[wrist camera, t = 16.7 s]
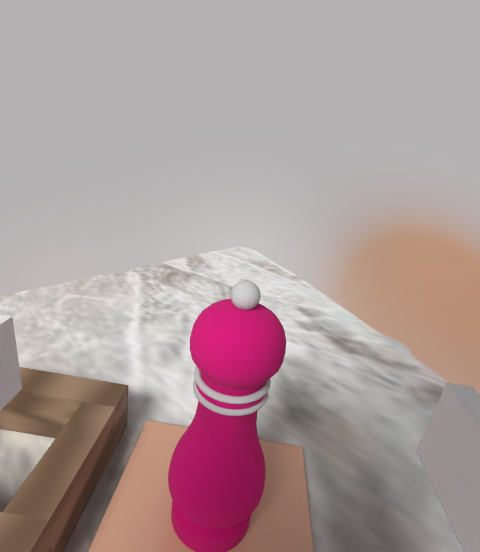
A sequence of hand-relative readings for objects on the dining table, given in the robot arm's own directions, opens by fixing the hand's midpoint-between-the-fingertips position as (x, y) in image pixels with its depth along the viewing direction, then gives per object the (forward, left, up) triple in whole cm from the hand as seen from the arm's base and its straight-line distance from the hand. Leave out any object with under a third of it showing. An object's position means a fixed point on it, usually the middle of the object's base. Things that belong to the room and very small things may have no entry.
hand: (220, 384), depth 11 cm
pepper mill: (0, -10, -21) cm, 23 cm away
